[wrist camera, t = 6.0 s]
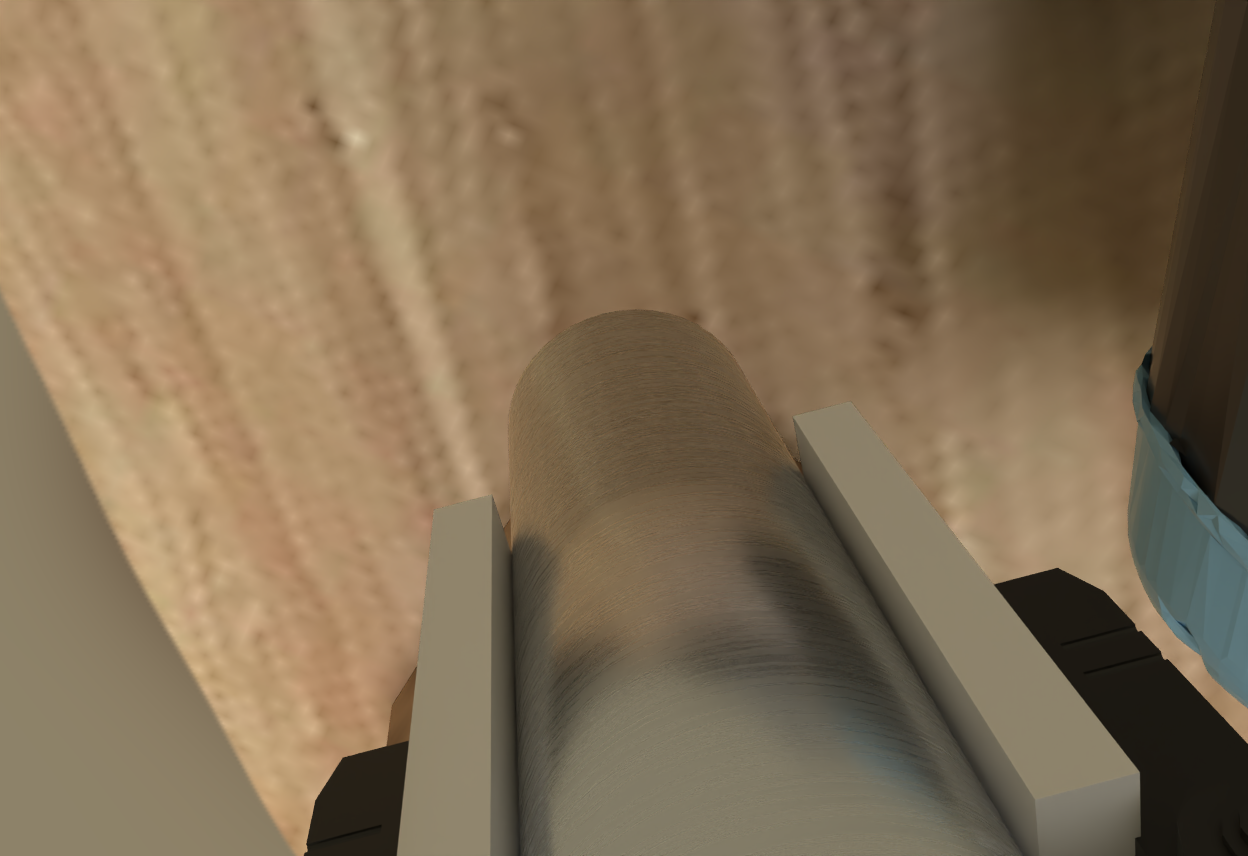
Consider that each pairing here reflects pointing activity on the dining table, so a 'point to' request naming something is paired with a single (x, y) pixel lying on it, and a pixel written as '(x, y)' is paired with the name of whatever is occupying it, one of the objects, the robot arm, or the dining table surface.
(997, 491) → the dining table surface
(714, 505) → the steel pin
